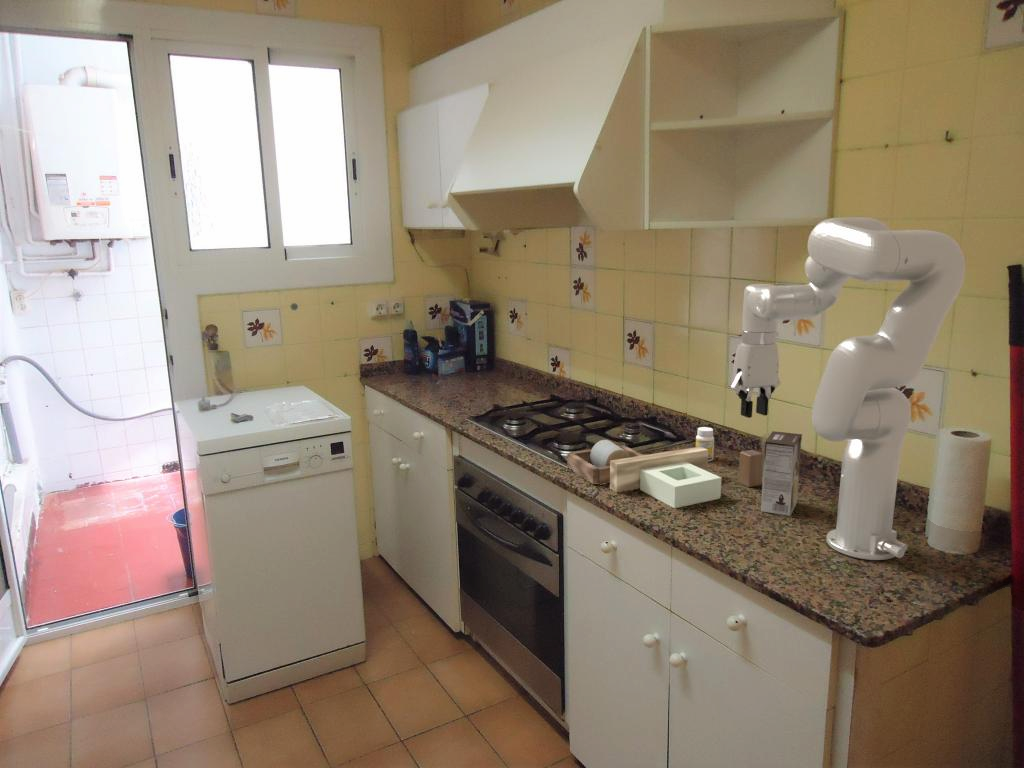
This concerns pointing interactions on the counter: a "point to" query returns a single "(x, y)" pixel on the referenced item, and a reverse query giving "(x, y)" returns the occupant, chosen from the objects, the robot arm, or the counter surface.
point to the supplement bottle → (706, 440)
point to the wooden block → (750, 468)
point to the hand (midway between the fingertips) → (753, 414)
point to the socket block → (680, 484)
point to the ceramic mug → (606, 453)
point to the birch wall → (628, 469)
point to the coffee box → (781, 473)
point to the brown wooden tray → (587, 470)
